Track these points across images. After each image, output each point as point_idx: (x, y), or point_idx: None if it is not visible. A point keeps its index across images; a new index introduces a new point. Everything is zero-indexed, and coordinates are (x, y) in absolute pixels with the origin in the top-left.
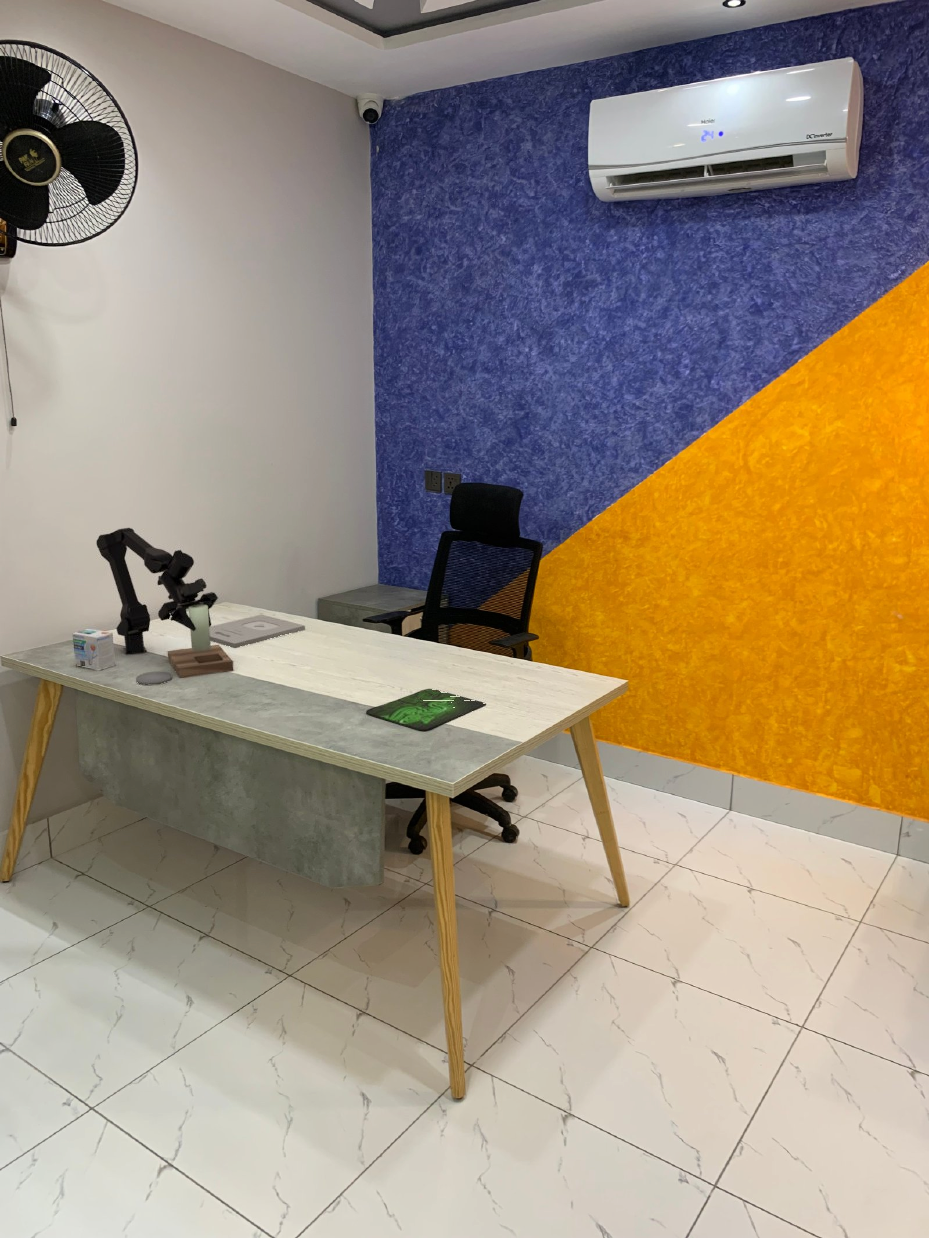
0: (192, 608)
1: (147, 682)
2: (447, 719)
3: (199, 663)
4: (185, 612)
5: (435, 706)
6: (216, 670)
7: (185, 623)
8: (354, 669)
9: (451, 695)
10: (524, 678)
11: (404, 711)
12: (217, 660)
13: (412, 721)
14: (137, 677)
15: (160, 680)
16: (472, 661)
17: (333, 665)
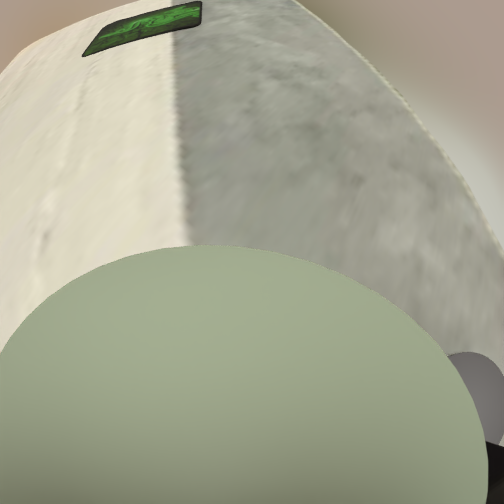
0: (454, 434)
1: (494, 363)
2: (162, 9)
3: None
4: (496, 491)
5: (135, 25)
6: None
7: None
8: (33, 144)
9: (95, 41)
10: (27, 63)
11: (168, 20)
12: None
13: (189, 8)
14: (500, 433)
15: (463, 355)
16: None
17: (21, 183)
